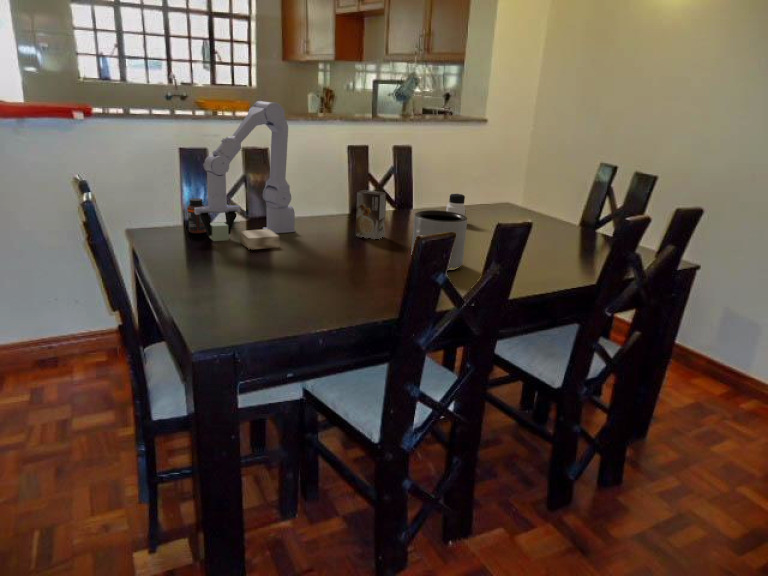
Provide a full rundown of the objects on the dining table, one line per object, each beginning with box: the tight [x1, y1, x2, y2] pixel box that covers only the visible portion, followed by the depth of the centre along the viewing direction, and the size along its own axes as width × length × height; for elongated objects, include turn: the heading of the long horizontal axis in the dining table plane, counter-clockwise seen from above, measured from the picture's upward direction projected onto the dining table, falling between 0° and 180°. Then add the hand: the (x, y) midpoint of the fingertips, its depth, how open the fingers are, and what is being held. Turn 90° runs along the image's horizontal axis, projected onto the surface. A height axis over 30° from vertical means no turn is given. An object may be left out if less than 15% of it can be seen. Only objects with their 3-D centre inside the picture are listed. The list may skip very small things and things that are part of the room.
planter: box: [410, 209, 468, 269], centre depth 170 cm, size 16×16×16 cm
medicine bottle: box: [445, 193, 467, 216], centre depth 229 cm, size 7×7×12 cm
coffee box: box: [355, 189, 387, 240], centre depth 198 cm, size 9×6×16 cm
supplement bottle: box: [187, 198, 207, 234], centre depth 191 cm, size 6×6×11 cm
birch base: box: [239, 228, 280, 250], centre depth 182 cm, size 10×10×4 cm
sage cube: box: [208, 221, 230, 242], centre depth 186 cm, size 5×5×5 cm
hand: (218, 234), depth 186 cm, fingers open, 6 cm apart
